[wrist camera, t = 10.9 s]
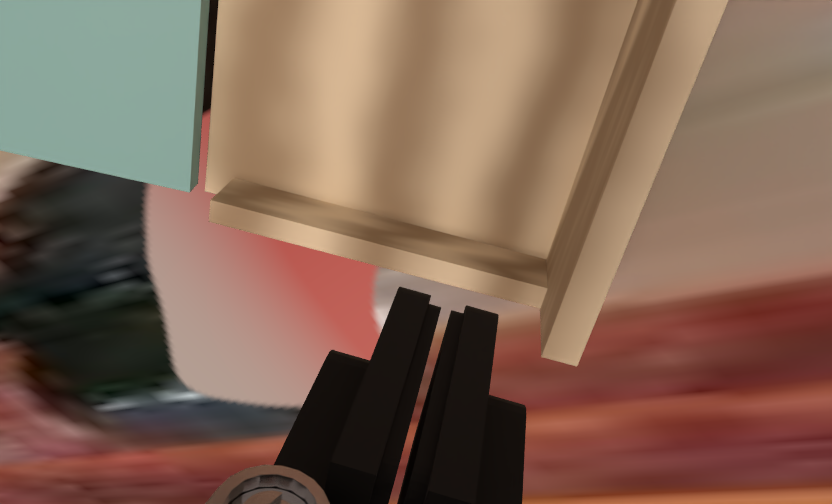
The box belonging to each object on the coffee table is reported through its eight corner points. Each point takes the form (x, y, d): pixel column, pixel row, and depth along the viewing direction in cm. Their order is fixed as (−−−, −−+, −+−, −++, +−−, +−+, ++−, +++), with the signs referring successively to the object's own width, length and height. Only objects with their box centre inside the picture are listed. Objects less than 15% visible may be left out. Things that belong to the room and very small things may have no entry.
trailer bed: (713, -139, 29) (791, -153, 21) (566, 259, 39) (577, 366, 30) (263, -248, 30) (152, -307, 21) (226, 171, 39) (139, 250, 31)
